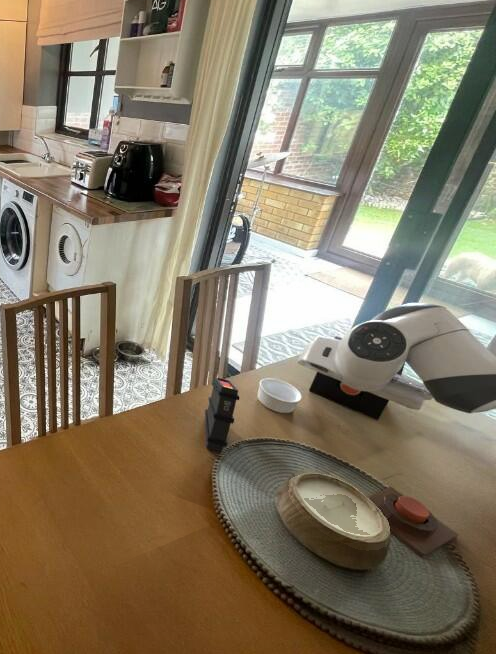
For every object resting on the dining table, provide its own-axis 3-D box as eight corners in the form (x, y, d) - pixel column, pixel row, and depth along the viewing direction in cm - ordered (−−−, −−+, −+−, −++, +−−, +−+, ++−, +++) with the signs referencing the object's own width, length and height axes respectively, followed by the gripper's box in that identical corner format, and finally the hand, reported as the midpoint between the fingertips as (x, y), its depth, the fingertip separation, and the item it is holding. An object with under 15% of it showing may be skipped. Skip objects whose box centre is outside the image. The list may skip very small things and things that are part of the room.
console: (377, 420, 99) (399, 381, 94) (308, 390, 108) (325, 353, 103) (385, 397, 106) (405, 360, 101) (319, 371, 116) (335, 336, 111)
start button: (430, 519, 72) (435, 512, 71) (416, 526, 71) (421, 520, 70) (403, 499, 76) (407, 493, 75) (389, 506, 74) (393, 499, 74)
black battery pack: (206, 454, 87) (220, 386, 87) (199, 434, 100) (212, 375, 99) (226, 460, 86) (240, 391, 86) (217, 440, 98) (229, 379, 98)
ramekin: (287, 394, 107) (293, 381, 105) (302, 418, 99) (308, 404, 98) (250, 388, 109) (254, 375, 107) (261, 411, 101) (267, 398, 99)
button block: (451, 544, 72) (464, 528, 70) (416, 564, 69) (429, 548, 67) (384, 495, 81) (394, 479, 79) (351, 511, 78) (361, 495, 76)
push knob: (357, 398, 99) (363, 385, 97) (337, 390, 101) (343, 378, 100) (359, 393, 100) (365, 380, 99) (339, 385, 103) (345, 373, 101)
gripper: (444, 379, 74) (423, 396, 84) (308, 331, 88) (304, 351, 98) (430, 409, 73) (411, 423, 83) (295, 357, 87) (293, 374, 97)
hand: (353, 384), depth 90 cm, fingers closed
